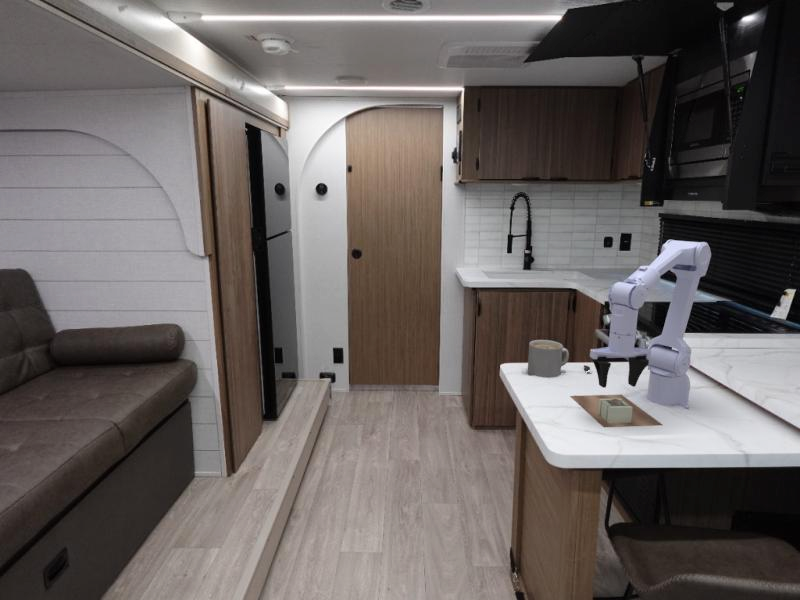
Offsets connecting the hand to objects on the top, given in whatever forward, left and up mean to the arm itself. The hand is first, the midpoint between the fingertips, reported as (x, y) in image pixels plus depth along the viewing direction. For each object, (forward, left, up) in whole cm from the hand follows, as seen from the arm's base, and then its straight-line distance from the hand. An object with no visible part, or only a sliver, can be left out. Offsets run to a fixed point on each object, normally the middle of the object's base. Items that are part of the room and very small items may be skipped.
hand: (617, 385), depth 123 cm
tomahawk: (-10, -28, -10) cm, 32 cm away
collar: (0, +1, -8) cm, 8 cm away
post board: (-2, -4, -9) cm, 11 cm away
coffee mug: (+3, -33, -10) cm, 35 cm away
